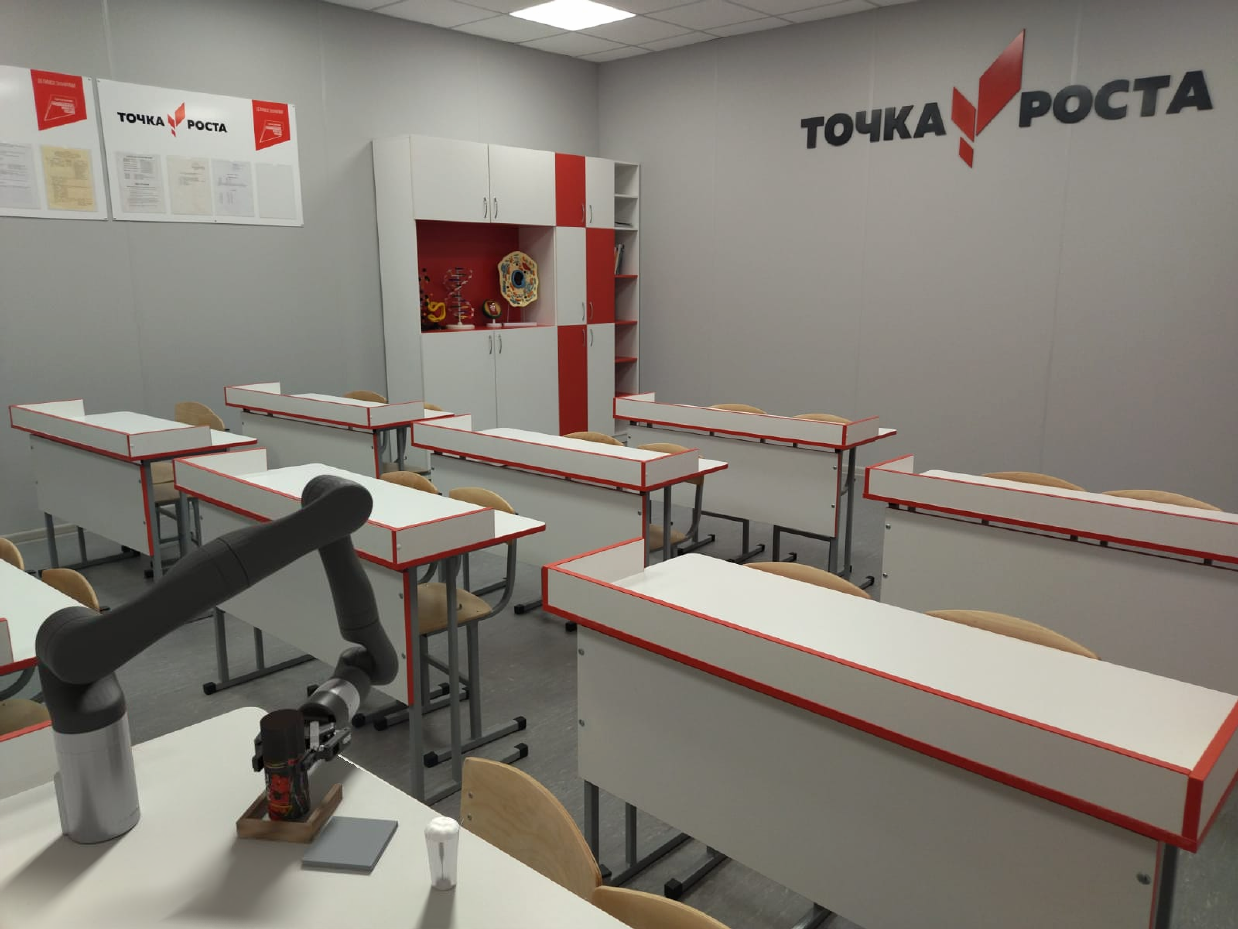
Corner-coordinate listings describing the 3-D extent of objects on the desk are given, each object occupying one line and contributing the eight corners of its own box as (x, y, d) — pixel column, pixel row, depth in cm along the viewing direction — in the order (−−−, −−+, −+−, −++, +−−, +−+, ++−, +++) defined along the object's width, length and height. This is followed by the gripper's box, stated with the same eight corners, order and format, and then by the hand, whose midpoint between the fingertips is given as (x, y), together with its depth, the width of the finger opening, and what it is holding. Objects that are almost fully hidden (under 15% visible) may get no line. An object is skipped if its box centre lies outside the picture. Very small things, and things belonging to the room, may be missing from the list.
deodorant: (319, 806, 132) (311, 715, 129) (286, 827, 127) (278, 733, 124) (292, 794, 135) (284, 705, 132) (259, 814, 130) (250, 722, 127)
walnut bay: (237, 837, 127) (235, 822, 127) (275, 793, 138) (274, 779, 137) (310, 843, 126) (308, 828, 125) (342, 798, 136) (341, 784, 136)
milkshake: (460, 897, 115) (456, 830, 113) (421, 891, 116) (417, 824, 114) (472, 874, 120) (469, 809, 117) (435, 869, 121) (432, 804, 118)
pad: (301, 865, 121) (301, 860, 121) (333, 820, 131) (333, 815, 131) (371, 871, 120) (371, 866, 120) (398, 825, 130) (397, 821, 130)
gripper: (284, 686, 143) (227, 741, 127) (369, 692, 142) (322, 748, 125) (288, 728, 145) (232, 787, 129) (371, 735, 143) (326, 795, 127)
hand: (277, 768), depth 127 cm, fingers closed on deodorant, 6 cm apart
